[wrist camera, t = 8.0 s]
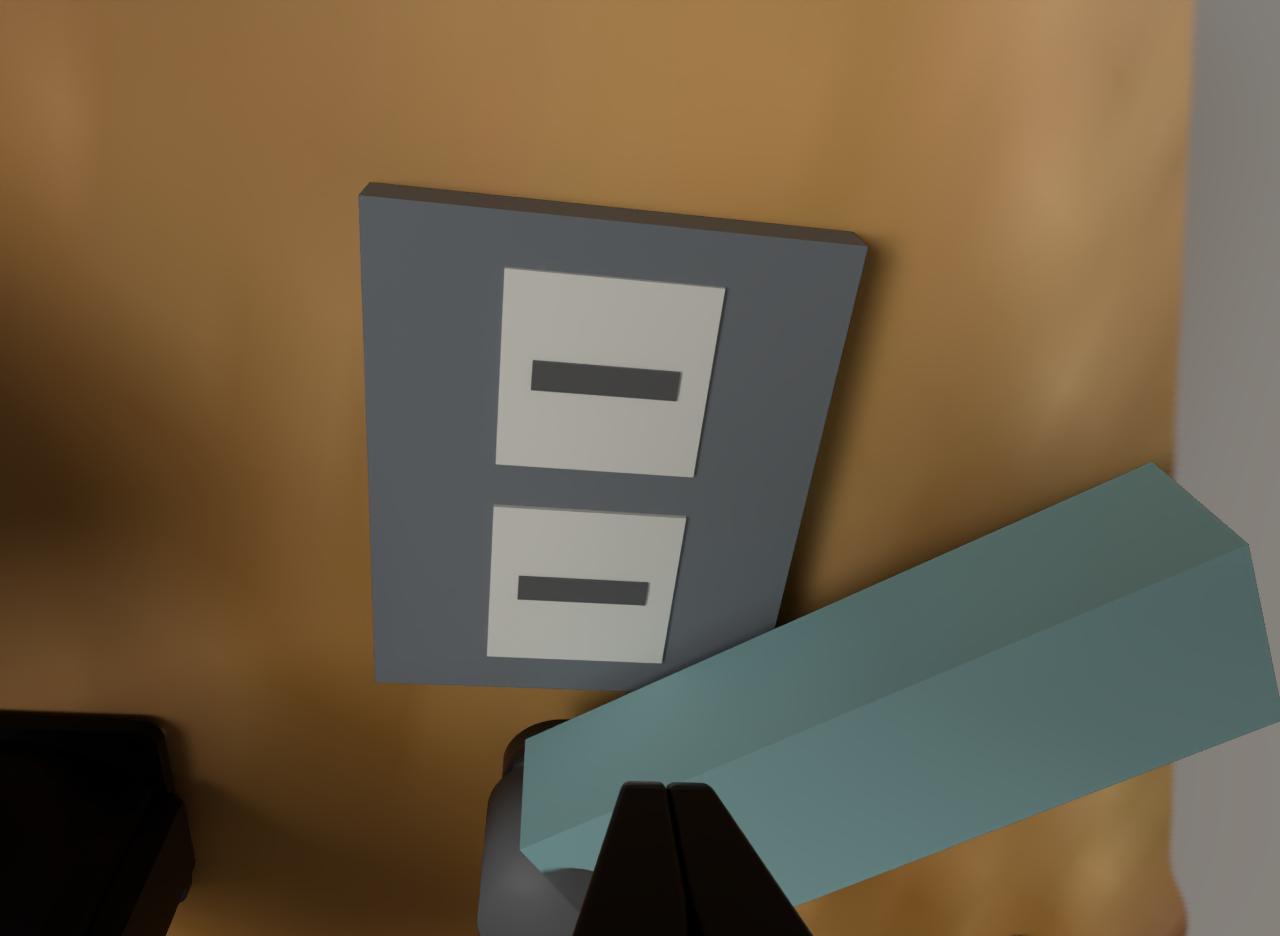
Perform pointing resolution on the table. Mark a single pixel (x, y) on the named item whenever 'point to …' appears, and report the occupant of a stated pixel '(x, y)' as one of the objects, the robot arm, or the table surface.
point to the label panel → (586, 431)
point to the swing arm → (917, 705)
